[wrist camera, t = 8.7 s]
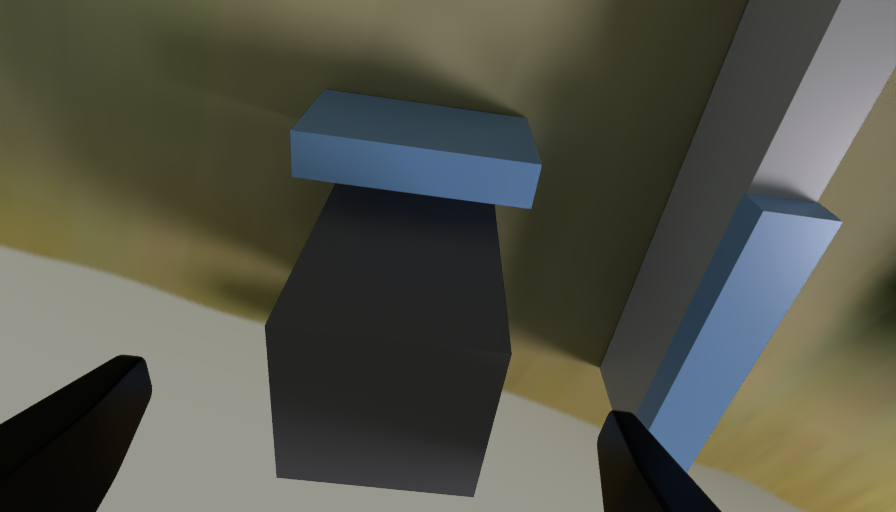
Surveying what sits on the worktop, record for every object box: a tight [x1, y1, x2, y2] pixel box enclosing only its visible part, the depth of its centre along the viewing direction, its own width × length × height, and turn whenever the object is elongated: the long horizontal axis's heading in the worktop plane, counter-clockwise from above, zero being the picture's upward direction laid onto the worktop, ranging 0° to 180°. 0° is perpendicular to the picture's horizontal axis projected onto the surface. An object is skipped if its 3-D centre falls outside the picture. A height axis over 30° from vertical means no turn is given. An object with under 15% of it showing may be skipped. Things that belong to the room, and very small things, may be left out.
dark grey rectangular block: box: [265, 183, 512, 497], centre depth 12 cm, size 4×4×6 cm
